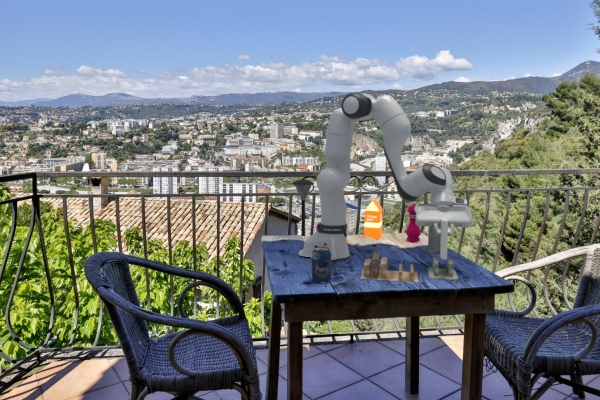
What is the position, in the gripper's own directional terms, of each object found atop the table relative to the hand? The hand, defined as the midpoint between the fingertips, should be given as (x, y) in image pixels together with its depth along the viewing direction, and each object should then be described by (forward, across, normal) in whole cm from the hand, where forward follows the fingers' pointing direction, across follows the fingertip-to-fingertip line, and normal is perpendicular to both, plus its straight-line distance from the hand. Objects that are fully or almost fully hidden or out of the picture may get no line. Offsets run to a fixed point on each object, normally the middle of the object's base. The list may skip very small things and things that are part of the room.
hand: (444, 234), depth 166 cm
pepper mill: (-31, -9, +54) cm, 63 cm away
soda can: (+20, -43, +3) cm, 48 cm away
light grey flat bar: (+6, 0, +6) cm, 8 cm away
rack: (+15, -19, +8) cm, 26 cm away
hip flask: (-18, +1, +42) cm, 46 cm away
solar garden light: (-27, -64, +50) cm, 86 cm away
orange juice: (-34, -29, +57) cm, 73 cm away
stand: (+12, 0, +11) cm, 16 cm away
